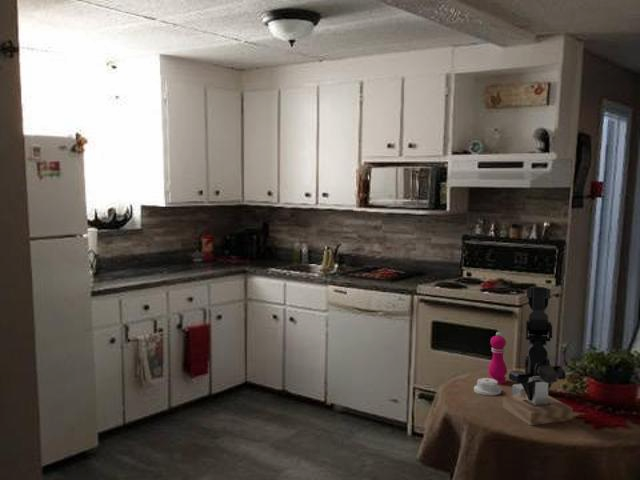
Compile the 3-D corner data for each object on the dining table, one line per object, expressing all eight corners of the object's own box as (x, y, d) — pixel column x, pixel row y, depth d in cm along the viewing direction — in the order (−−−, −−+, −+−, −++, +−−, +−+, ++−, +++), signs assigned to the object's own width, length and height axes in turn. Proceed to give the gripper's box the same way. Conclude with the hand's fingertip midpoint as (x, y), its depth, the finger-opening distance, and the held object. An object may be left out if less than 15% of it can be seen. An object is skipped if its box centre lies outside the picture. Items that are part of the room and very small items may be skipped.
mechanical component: (496, 398, 223) (504, 390, 231) (496, 386, 222) (504, 379, 231) (470, 393, 228) (478, 386, 236) (470, 381, 228) (478, 375, 236)
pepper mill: (507, 384, 237) (508, 334, 235) (488, 383, 238) (489, 333, 237) (506, 379, 244) (506, 330, 242) (487, 378, 245) (488, 329, 244)
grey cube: (524, 396, 223) (524, 383, 223) (532, 401, 218) (532, 387, 218) (512, 398, 222) (512, 384, 221) (520, 402, 217) (520, 389, 217)
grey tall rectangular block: (538, 405, 209) (539, 376, 208) (547, 410, 204) (548, 381, 203) (525, 406, 207) (526, 378, 206) (534, 411, 202) (535, 382, 202)
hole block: (542, 403, 215) (542, 392, 215) (572, 419, 200) (572, 407, 200) (502, 408, 211) (502, 397, 211) (530, 425, 196) (530, 413, 195)
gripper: (528, 363, 194) (527, 410, 195) (577, 358, 199) (576, 404, 200) (508, 354, 204) (507, 399, 206) (555, 350, 209) (554, 393, 211)
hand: (536, 399), depth 205 cm, fingers closed on grey tall rectangular block, 5 cm apart
